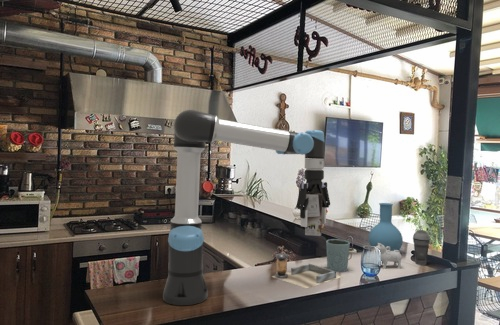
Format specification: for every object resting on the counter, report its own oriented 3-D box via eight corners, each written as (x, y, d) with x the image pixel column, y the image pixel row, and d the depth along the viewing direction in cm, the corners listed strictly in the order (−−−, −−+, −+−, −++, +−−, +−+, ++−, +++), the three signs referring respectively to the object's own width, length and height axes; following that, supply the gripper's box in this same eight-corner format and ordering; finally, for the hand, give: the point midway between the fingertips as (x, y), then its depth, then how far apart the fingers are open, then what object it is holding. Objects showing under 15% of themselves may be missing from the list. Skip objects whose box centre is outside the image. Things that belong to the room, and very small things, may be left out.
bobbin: (281, 279, 151) (281, 257, 151) (272, 276, 155) (272, 254, 154) (290, 276, 154) (290, 255, 154) (281, 273, 158) (281, 252, 158)
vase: (366, 254, 196) (367, 204, 195) (369, 247, 211) (370, 201, 210) (402, 257, 189) (403, 206, 189) (402, 250, 205) (403, 202, 204)
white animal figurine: (370, 265, 175) (370, 242, 175) (397, 265, 176) (398, 241, 176) (374, 269, 170) (375, 244, 170) (403, 268, 171) (403, 244, 171)
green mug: (337, 264, 176) (338, 238, 176) (354, 270, 168) (355, 242, 167) (320, 267, 171) (321, 240, 170) (337, 273, 162) (338, 245, 162)
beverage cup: (422, 267, 174) (423, 222, 173) (408, 263, 180) (409, 219, 180) (433, 264, 178) (433, 221, 177) (418, 261, 184) (419, 218, 183)
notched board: (306, 291, 141) (306, 281, 141) (271, 278, 154) (271, 270, 154) (342, 279, 155) (343, 270, 155) (308, 268, 169) (308, 260, 169)
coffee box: (321, 236, 150) (322, 194, 149) (304, 235, 151) (305, 193, 151) (322, 231, 159) (322, 192, 158) (306, 231, 160) (306, 191, 160)
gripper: (301, 170, 144) (301, 229, 144) (339, 169, 159) (339, 223, 160) (287, 169, 150) (286, 226, 150) (325, 168, 165) (324, 220, 165)
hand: (313, 224), depth 155 cm, fingers closed on coffee box, 11 cm apart
